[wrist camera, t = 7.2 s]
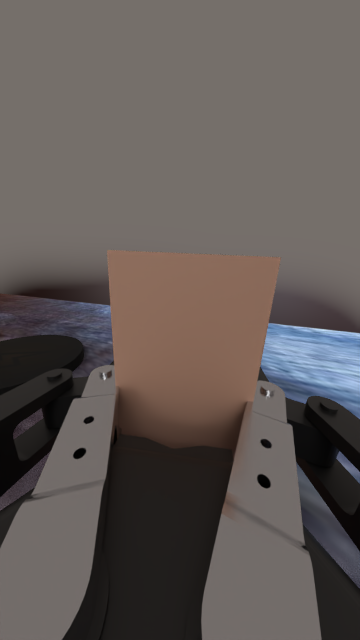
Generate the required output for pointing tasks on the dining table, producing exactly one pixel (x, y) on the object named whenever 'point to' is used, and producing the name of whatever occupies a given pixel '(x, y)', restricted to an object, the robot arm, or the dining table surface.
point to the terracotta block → (188, 342)
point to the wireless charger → (36, 358)
